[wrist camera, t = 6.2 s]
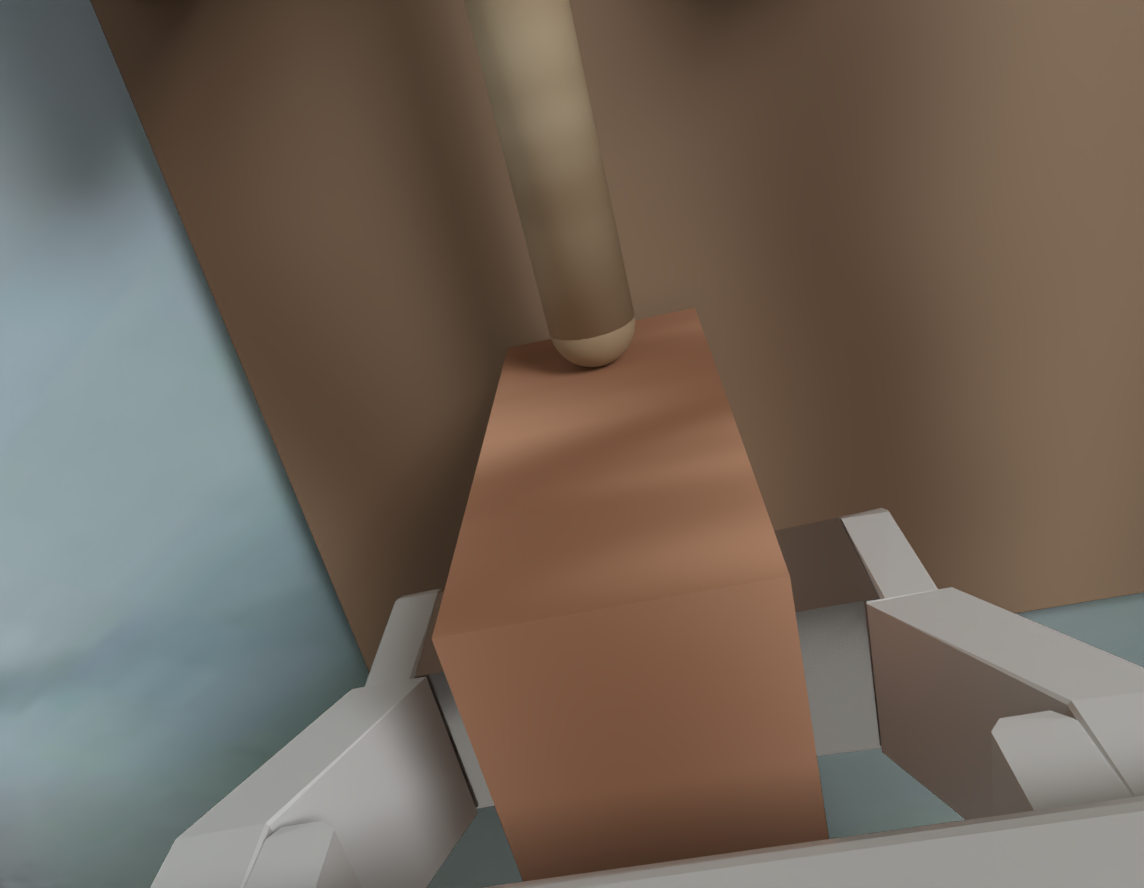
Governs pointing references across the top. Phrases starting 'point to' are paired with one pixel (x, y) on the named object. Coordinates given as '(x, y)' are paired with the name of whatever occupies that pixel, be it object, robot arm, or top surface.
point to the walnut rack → (690, 258)
